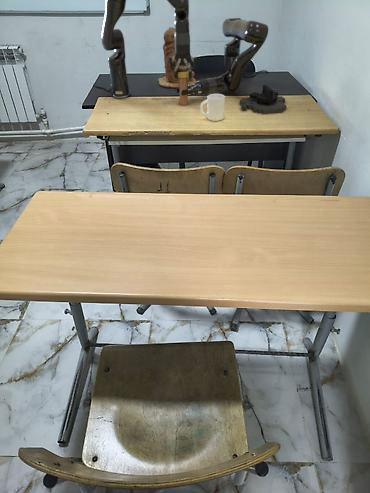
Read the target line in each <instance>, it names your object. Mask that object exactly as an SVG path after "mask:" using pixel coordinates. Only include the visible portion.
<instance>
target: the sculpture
mask: <svg viewBox="0 0 370 493" xmlns="http://www.w3.org/2000/svg"><path fill="white" fill-rule="evenodd" d="M163 40H164V44H163V45H162V50H163V61H164V71H165V73H164V75H165V76H163V77H159V78H158V79H157V80H158V84H159V86H161V87H163V88H168V89H169V88H176V89H177V88H179V77H178V79H176V78H175V73H174V71H173V70H171V68H170V61H169V58H170V56H172V57H174V56H175V27H168V28H167V29H166V30H165V31H164V33H163ZM176 64H177V62H176V60H175V59H174V61H173V65H174V67H176ZM177 71H178V73H179V72H188V83H190V85H192V84H196V83H197V81H198V80H197V79H195V76H196V74H195V72H194V71H192V78H191V79H190V80H189V69H188V68H187V66H184V65H181V66H180V65H179V67H178V69H177Z"/></svg>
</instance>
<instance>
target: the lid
mask: <svg viewBox="0 0 370 493" xmlns="http://www.w3.org/2000/svg"><path fill="white" fill-rule="evenodd" d="M178 77H179V78H187V77H188V72H179V73H178Z"/></svg>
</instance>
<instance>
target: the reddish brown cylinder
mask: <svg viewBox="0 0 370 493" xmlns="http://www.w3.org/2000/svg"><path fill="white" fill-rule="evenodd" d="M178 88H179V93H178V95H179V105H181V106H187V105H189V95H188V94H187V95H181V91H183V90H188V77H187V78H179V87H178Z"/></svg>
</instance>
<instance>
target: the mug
mask: <svg viewBox="0 0 370 493" xmlns="http://www.w3.org/2000/svg"><path fill="white" fill-rule="evenodd" d="M206 98H207V99H204V100H203V101H202V102H201V103H200V104H199V111H200V113H201V115H203V116H206V118H207V119H208V120H209V121H213V122H218V121H222V120H223V119H224V118H225V103H226V102H225V101H226V96H225V94H222V93H209V94H207V96H206ZM204 105H206V106H207V107H206V112H205V111H204V108H203V107H204Z"/></svg>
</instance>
